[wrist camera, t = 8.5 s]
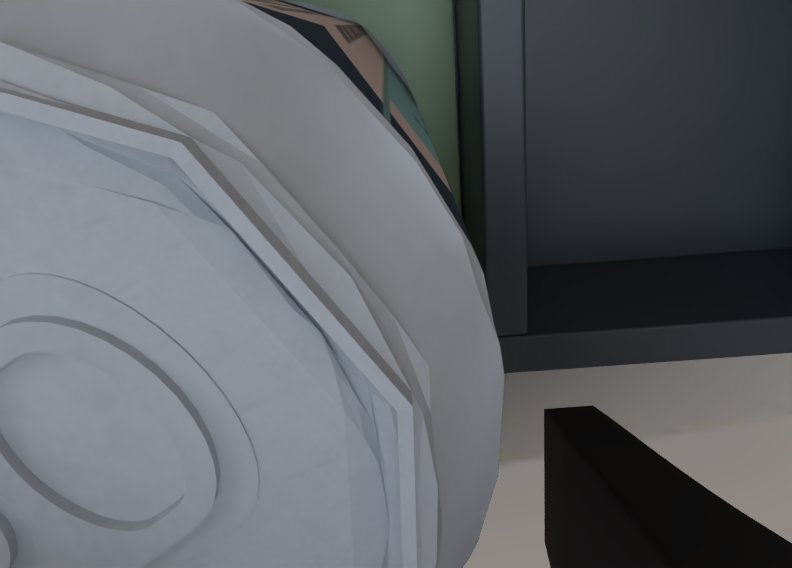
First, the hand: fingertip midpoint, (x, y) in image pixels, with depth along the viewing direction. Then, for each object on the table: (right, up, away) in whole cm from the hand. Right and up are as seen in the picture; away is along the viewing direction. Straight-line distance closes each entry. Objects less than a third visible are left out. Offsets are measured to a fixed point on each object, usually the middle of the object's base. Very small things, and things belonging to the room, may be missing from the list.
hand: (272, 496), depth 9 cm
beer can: (0, +6, +5) cm, 8 cm away
